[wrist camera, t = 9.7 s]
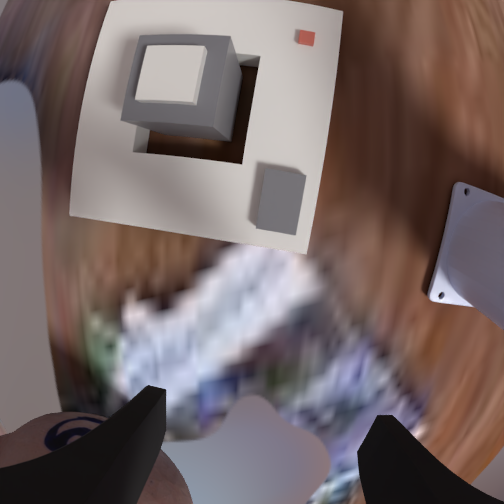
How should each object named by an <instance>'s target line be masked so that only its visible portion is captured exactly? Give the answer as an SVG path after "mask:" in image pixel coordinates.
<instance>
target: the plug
mask: <svg viewBox="0 0 504 504" xmlns="http://www.w3.org/2000/svg"><path fill="white" fill-rule="evenodd" d="M242 80H243V75H242V72H241V69H240V65H239V62H238V59H237V55H236V52H235V49H234V45H233V42H232V39H231V36H223V35H202V34H160V35H140V36H139V40H138V44H137V47H136V51H135V55H134V59H133V63H132V67H131V71H130V75H129V80H128V84H127V89H126V94H125V99H124V104H123V109H122V114H121V120H120V121H124V122H127V123H130V124H133V125H136V126H140V127H143V128H146V129H149V130H152V131H155V132H158V133H161V134H164V135H171V136H183V137H193V138H202V139H211V140H219V141H227V142H232V137H233V131H234V126H235V120H236V114H237V108H238V103H239V97H240V91H241V86H242Z"/></svg>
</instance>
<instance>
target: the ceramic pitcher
mask: <svg viewBox="0 0 504 504" xmlns="http://www.w3.org/2000/svg"><path fill="white" fill-rule="evenodd" d="M107 419H108V418H107V417H103V416H99V415H97V414H89V413H81V412H60V413H51V414H46V415H43V416H41V417H38V418H35V419H33V420H31V421H30V422H28V423H26V424H24V425H23V426H21V427H20V428H18V429H17V430H16V431H14V432H12V433H9V434H5V435H1V436H0V468H2V467H7V466H11V465H15V464H18V463H22V462H25V461H29V460H32V459H35V458H38V457H40V456H43V455H45V454H48V453H50V452H52V451H55V450H57V449H59V448H61V447H63V446H65V445H67V444H69V443H71V442H73V441H75V440H76V439H78V438H80V437H81V436H83V435H85V434H86V433H88V432H89V431H91V430H92V429H94V428H95V427H97V426H98V425H100V424H101V423H103V422H104V421H105V420H107ZM137 504H193V502H192V499H191V495H190V492H189V489H188V486H187V484H186V482H185V480H184V478H183V476H182V475H181V473H180V471H179V470H178V469H177V467H176V466H175V464H174V463H173V462H172V461H171V459H170V458H169V457H168V456H167V455H166V454H165V453H164V452H163V451H162V450H161V449H160V452H159V455H158V457H157V459H156V462H155V464H154V466H153V468H152V471H151V473H150V475H149V477H148V480H147V482H146V484H145V486H144V488H143V491H142V493H141V495H140V497H139V500H138V502H137Z"/></svg>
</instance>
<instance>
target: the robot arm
mask: <svg viewBox="0 0 504 504" xmlns="http://www.w3.org/2000/svg"><path fill="white" fill-rule="evenodd" d="M465 188H466V190H467V193H466V195H465V194H464V190H465ZM441 292H442V295H441V296H440V297H438V295H439V293H441ZM427 295H428V298H429V299H430V300H431V301H433V302H440V303H447V304H455V305H462V306H470V307H475V308H476V309H478V310H479V311H480V312H481V313H483V314H484V315H485V316H487V317H488V318H489V319H490V320H492V321H493V322H494V323H495V324H497V325H498V326H499V327H500V328H502V329H503V330H504V198H501V197H499V196H497V195H494V194H492V193H489V192H487V191H484V190H482V189H479V188H476V187H474V186H471V185H468V184H466V183H463V182H456V183H455V184H454V186H453V190H452V196H451V202H450V207H449V212H448V217H447V221H446V226H445V230H444V235H443V239H442V243H441V247H440V251H439V255H438V259H437V262H436V266H435V270H434V273H433V277H432V280H431V283H430V287H429V290H428V294H427ZM165 432H166V389H162V388H158V387H154V386H150V385H148V386H146V387H145V388H144V389H143V390H142V391H140V392H139V393H138V394H137V395H136V396H135V397H134V398H133V399H132V400H130V401H129V402H128V403H127V404H126V405H125V406H123V407H122V408H121V409H120V410H118V411H117V412H116V413H115V414H113V415H112V416H111V417H109V418H108V419H107V420H105V421H104V422H103V423H101V424H100V425H98V426H97V427H95V428H94V429H92V430H91V431H89V432H88V433H86V434H85V435H83V436H81V437H80V438H78V439H76V440H75V441H73V442H71V443H69V444H67V445H65V446H63V447H61V448H59V449H57V450H55V451H52V452H50V453H48V454H45V455H43V456H40V457H38V458H35V459H32V460H29V461H25V462H22V463H18V464H15V465H11V466H7V467H2V468H0V504H137V502H138V500H139V497H140V495H141V493H142V491H143V488H144V486H145V484H146V482H147V480H148V477H149V475H150V473H151V471H152V468H153V466H154V464H155V462H156V459H157V457H158V455H159V452H160V449H161V446H162V442H163V439H164V435H165ZM357 455H358V467H359V475H360V480H361V484H362V488H363V493H364V497H365V501H366V504H504V502H503V501H500V500H498V499H496V498H494V497H492V496H489V495H487V494H485V493H484V492H482V491H480V490H478V489H476V488H474V487H473V486H471V485H470V484H468V483H467V482H465V481H464V480H463V479H461V478H460V477H458V476H457V475H456V474H454V473H453V472H452V471H450V470H449V469H448V468H447V467H446V466H444V465H443V464H442V463H441V462H440V461H439V460H438V459H436V458H435V457H434V456H433V455H432V454H431V453H430V452H429V451H428V450H427V449H426V448H425V447H424V446H423V445H422V444H421V443H420V442H419V441H418V440H417V439H416V438H415V437H414V436H413V435H412V434H411V433H410V432H409V431H408V430H407V429H406V428H405V427H404V426H403V425H402V424H401V423H400V422H399V421H398V420H397V419H396V418H395V417H394V416H393V415H377V417H376V419H375V421H374V423H373V424H372V426H371V428H370V430H369V432H368V434H367V435H366V437H365V439H364V441H363V443H362V444H361V446H360V448H359V450H358V451H357Z"/></svg>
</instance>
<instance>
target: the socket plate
mask: <svg viewBox="0 0 504 504" xmlns="http://www.w3.org/2000/svg"><path fill="white" fill-rule="evenodd" d="M342 19H343V11H339V10H335V9H331V8H326V7H322V6H317V5H312V4H306V3H300V2H294V1H288V0H118V1H111V2H110V5H109V8H108V11H107V14H106V17H105V19H104V22H103V26H102V29H101V32H100V35H99V38H98V42H97V45H96V49H95V52H94V56H93V60H92V63H91V67H90V71H89V75H88V80H87V84H86V89H85V93H84V98H83V103H82V108H81V114H80V119H79V125H78V132H77V138H76V146H75V153H74V162H73V171H72V182H71V195H70V213H69V215H70V216H76V217H82V218H89V219H95V220H101V221H107V222H114V223H120V224H126V225H132V226H138V227H144V228H151V229H157V230H163V231H169V232H175V233H181V234H187V235H193V236H199V237H205V238H211V239H217V240H223V241H229V242H235V243H241V244H247V245H253V246H259V247H265V248H271V249H277V250H283V251H289V252H294V253H300V254H306V253H307V248H308V243H309V238H310V233H311V228H312V223H313V218H314V213H315V207H316V202H317V196H318V191H319V185H320V180H321V174H322V168H323V162H324V156H325V150H326V144H327V137H328V131H329V124H330V117H331V110H332V103H333V96H334V89H335V81H336V73H337V65H338V56H339V48H340V38H341V29H342ZM160 34H202V35H223V36H231V39H232V42H233V45H234V49H235V52H236V55H237V59H238V62H239V65H243V66H252V67H259V68H258V73H257V79H256V85H255V90H254V96H253V102H252V108H251V114H250V119H249V125H248V131H247V137H246V143H245V149H244V156H243V162H242V165H241V164H234V163H227V162H220V161H212V160H204V159H196V158H188V157H178V156H169V155H159V154H148V153H146V152H147V146H148V139H149V133H150V130H149V129H146V128H143V127H140V126H136V125H133V124H130V123H127V122H124V121H120V120H121V114H122V109H123V104H124V99H125V94H126V89H127V84H128V80H129V75H130V71H131V67H132V63H133V59H134V55H135V51H136V47H137V44H138V40H139V36H140V35H160Z"/></svg>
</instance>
